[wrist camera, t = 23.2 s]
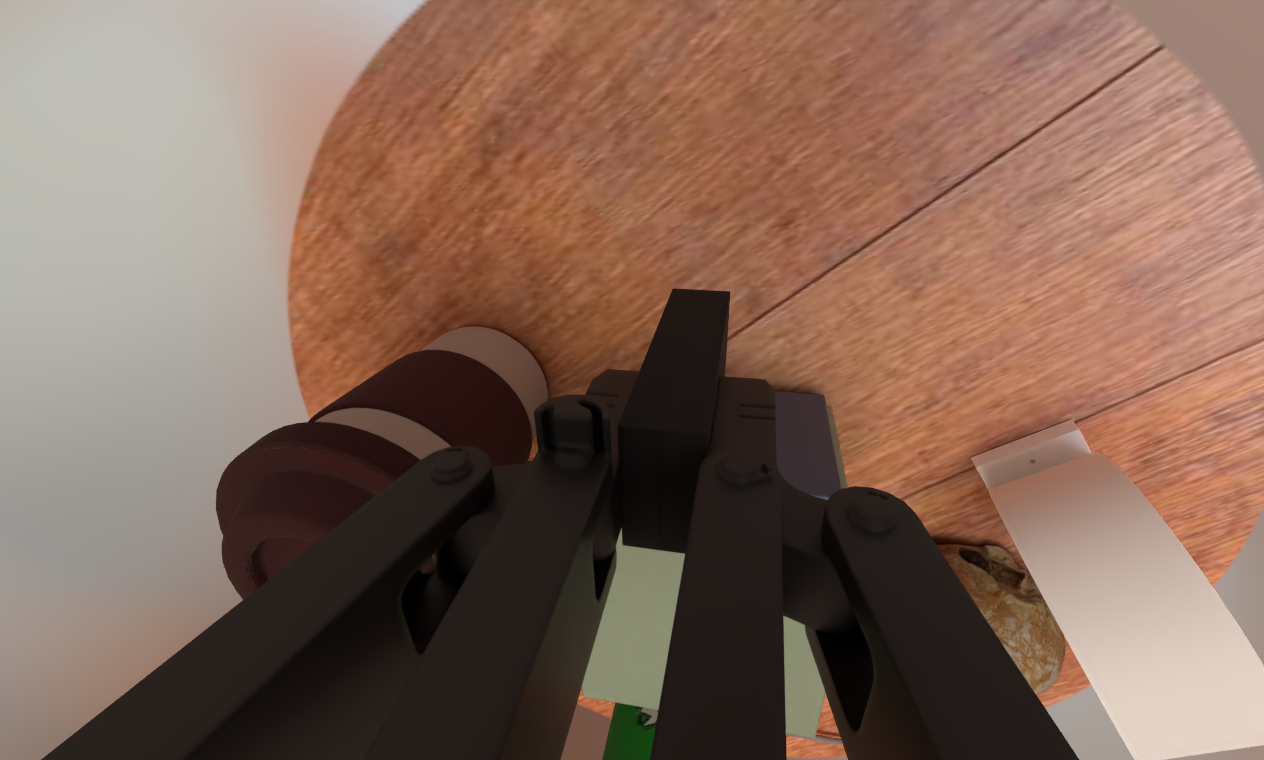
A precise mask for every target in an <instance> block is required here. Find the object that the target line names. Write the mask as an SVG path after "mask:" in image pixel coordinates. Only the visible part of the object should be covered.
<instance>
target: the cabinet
mask: <svg viewBox="0 0 1264 760" xmlns="http://www.w3.org/2000/svg"><path fill="white" fill-rule="evenodd" d="M826 408H827V413H828V419H829V424H830V429H831V435H832V440H833V446H834V451H835V456H836V462H837V467H838V473H839V478H840V483H841V489H844V488H848V486H847V481H846V476H845V471H844V466H843V461H842V456H841V451H840V446H839V441H838V436H837V431H836V426H835V421H834V417H833V411H832V408H831V407H826ZM616 552H617V565H616V570H615V574H614V577H613V581H612V584H611V587H610V591H609V594H608V598H607V601H606V605H605V608H604V611H603V615H602V618H601V622H600V625H599V629H598V632H597V635H596V639H595V642H594V646H593V649H592V653H591V656H590V660H589V663H588V666H587V670H586V673H585V677H584V680H583V684H582V693H583V696H584V697H588V698H594V699H599V700H605V701H610V702H616V703H622V704H627V705H633V706H638V707H644V708H650V709H655V710H658V709H659V704H660V698H661V692H662V686H663V680H664V674H665V668H666V663H667V657H668V651H669V645H670V639H671V633H672V628H673V622H674V616H675V610H676V604H677V598H678V592H679V587H680V581H681V575H682V569H683V563H684V557H685V554H683V553H675V552H668V551H661V550H653V549H646V548H639V547H631V546H624V545H622V528H621V531H620V534H619V537H618V541H617V544H616ZM783 620H784V668H785V716H786V733H790V734H795V735H801V736H806V737H812V738H815V736H816V731H817V727H818V722H819V718H820V714H821V709H822V705H823V700H824V696H825V689H824V686H823V683H822V681H821V678H820V675H819V672H818V669H817V666H816V663H815V660H814V657H813V654H812V651H811V648H810V645H809V642H808V639H807V636H806V633H805V625H803V624H801V623H799V622H797V621H794V620H792V619H790V618H788V617H785V616H783Z"/></svg>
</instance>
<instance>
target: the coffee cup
mask: <svg viewBox="0 0 1264 760" xmlns="http://www.w3.org/2000/svg"><path fill="white" fill-rule="evenodd" d="M546 401H548V389H547V383H546V380H545V377H544V374H543V372H542V370H541V368H540V366H539V364H538V362H537V361H536V360H535V358H534V357H533V356H532V354H531V353H530V352H529V351H528V350H527V349H526V348H525V347H524V346H523V345H521V344H520V343H519V342H517V341H516V340H514V339H513V338H512V337H510V336H508V335H506V334H504V333H502V332H499V331H497V330H494V329H490V328H486V327H479V326H468V327H461V328H457V329H454V330H451V331H449V332H446V333H445V334H443V335H441V336H440V337H438V338H437V339H435V340H434V341H432V342H431V343H429V344H428V345H427V346H425V347H424V348H422V349H421V350H419V351H418V352H414V353H411V354H408V355H406V356H404V357H402V358H400V359H398V360H396V361H395V362H393V363H392V364H390V365H389V366H387V367H386V368H384V369H383V370H381V371H380V372H378V373H377V374H375V375H374V376H372V377H370V378H369V379H367V380H366V381H364V382H363V383H361V384H360V385H358V386H357V387H355V388H354V389H352V390H351V391H349V392H348V393H346V394H345V395H343V396H342V397H340V398H339V399H337V400H336V401H334V402H333V403H331V404H330V405H328V406H327V407H325V408H324V409H322V410H321V411H320V412H318V413H317V414H316V415H314V416H313V417H312V418H311V419H310V420H309V421H308V422H307V423H306V422H305V423H296V424H292V425H288V426H284V427H282V428H279V429H277V430H274V431H272V432H270V433H269V434H267V435H265V436H264V437H262V438H261V439H260V440H258V441H257V442H256V443H254V444H253V445H252V446H250V447H249V448H248V449H246V450H245V451H244V452H242V453H241V454H240V455H238V456H237V457H236V458H235V459H234V460H233V461H232V462H231V463H230V464H229V465H228V466H227V468H226V469H225V471H224V472H223V474H222V477H221V479H220V482H219V485H218V488H217V494H216V495H217V496H216V511H217V516H218V520H219V525H220V529H221V531H222V533H223V541H222V559H223V564H224V567H225V569H226V573H227V575H228V578H229V579H230V581H231V583H232V584H233V586H234V587H235V589H236V591H237V592H238V593H239V595H240V596H241V597H242V599H243V600H244V599H245V598H247V597H248V596H249V595H250V594H252V593H253V592H254V591H256V590H257V589H258V588H259V587H261V586H262V585H263V584H264V583H266V582H267V581H268V580H269V579H271V578H272V577H273V576H275V575H276V574H277V573H278V572H280V571H281V570H282V569H283V568H285V567H286V566H287V565H288V564H290V563H291V562H292V561H294V560H295V559H296V558H297V557H299V556H300V555H301V554H302V553H304V552H305V551H306V550H307V549H309V548H310V547H311V546H313V545H314V544H315V543H316V542H318V541H319V540H320V539H321V538H323V537H324V536H325V535H326V534H328V533H329V532H330V531H332V530H333V529H334V528H335V527H337V526H338V525H339V524H340V523H342V522H343V521H344V520H345V519H347V518H348V517H349V516H351V515H352V514H353V513H354V512H356V511H357V510H358V509H359V508H361V507H362V506H363V505H364V504H366V503H367V502H368V501H370V500H371V499H372V498H373V497H375V496H376V495H377V494H378V493H380V492H381V491H382V490H383V489H385V488H386V487H387V486H389V485H390V484H391V483H392V482H394V481H395V480H396V479H397V478H399V477H400V476H401V475H402V474H404V473H405V472H406V471H408V470H409V469H410V468H411V467H413V466H414V465H415V464H416V463H418V462H419V461H420V460H421V459H423V458H425V457H426V456H428V455H430V454H431V453H433V452H435V451H438V450H441V449H444V448H447V447H453V446H471V447H477V448H479V449H481V450H483V451H485V452H486V453H487V454H488V456H489V458H490V459H491V463H492V467H494V466H504V465H513V464H520V463H526V462H527V461H528V459H529V456H530V452H531V447H532V441H533V439H534V437H535V435H536V426H535V418H534V411H535V410H536V409H537V408H538V407H539V406H540V405H541V404H542V403H544V402H546ZM432 560H433V557H432V556H431V557H430V558H429V559H428V560H427V561H426V562H425V563H424V564H423V565H422V566H421V567H420V568H419V569H420V570H421V569H422V568H424V567H425V566H427V565H428V564H429V563H430V562H431V561H432Z"/></svg>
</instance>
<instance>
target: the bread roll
mask: <svg viewBox="0 0 1264 760" xmlns="http://www.w3.org/2000/svg"><path fill="white" fill-rule="evenodd" d="M937 547H938V548H939V550H940V551H941V553H942V554H943V556H944V557H945V559H946V560H947V562H948V563H949V565H950V566H951V568H952V569H953V571H954V572H955V574H956V575H957V577H958V578H959V580H960V581H961V583H962V584H963V586H964V587H965V589H966V590H967V592H968V593H969V595H970V596H971V598H972V599H973V601H974V602H975V604H976V605H977V607H978V608H979V610H980V611H981V613H982V614H983V616H984V617H985V619H986V620H987V622H988V623H989V625H990V626H991V628H992V629H993V631H994V632H995V634H996V635H997V637H998V638H999V640H1000V641H1001V643H1002V644H1003V646H1004V647H1005V649H1006V650H1007V652H1008V653H1009V655H1010V656H1011V658H1012V659H1013V661H1014V662H1015V664H1016V665H1017V667H1018V668H1019V670H1020V671H1021V673H1022V674H1023V676H1024V677H1025V679H1026V680H1027V682H1028V683H1029V685H1030V686H1031V688H1032V689H1033V691H1034V692H1035V694H1040V693H1043V692H1046V691H1047V689H1048V688H1049V687H1050V686H1051V685H1052V684H1053V683H1054V682H1055V681H1056V680H1057V678H1058V677H1059V674H1060V671H1061V668H1062V665H1063V661H1064V656H1065V641H1064V634H1063V633H1062V631H1061V629H1060V627H1059V625H1058V623H1057V622H1056V620H1055V618H1054V616H1053V614H1052V612H1051V611H1050V609H1049V607H1048V605H1047V603H1046V601H1045V600H1044V598H1043V596H1042V594H1041V592H1040V590H1039V589H1038V587H1037V585H1036V583H1035V581H1034V579H1033V577H1032V576H1031V574H1030V573H1028V572H1027V571H1026V570H1025V569H1023V568H1021V567H1020V566H1018V565H1016V564H1015V562H1014V559H1013V557H1012V555H1011V554H1010V553H1009V552H1008V551H1006V550H1004V549H1002V548H1000V547H999V546H989V545H985V546H984V547H979V546H967V545H958V544H946V545H937Z"/></svg>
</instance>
